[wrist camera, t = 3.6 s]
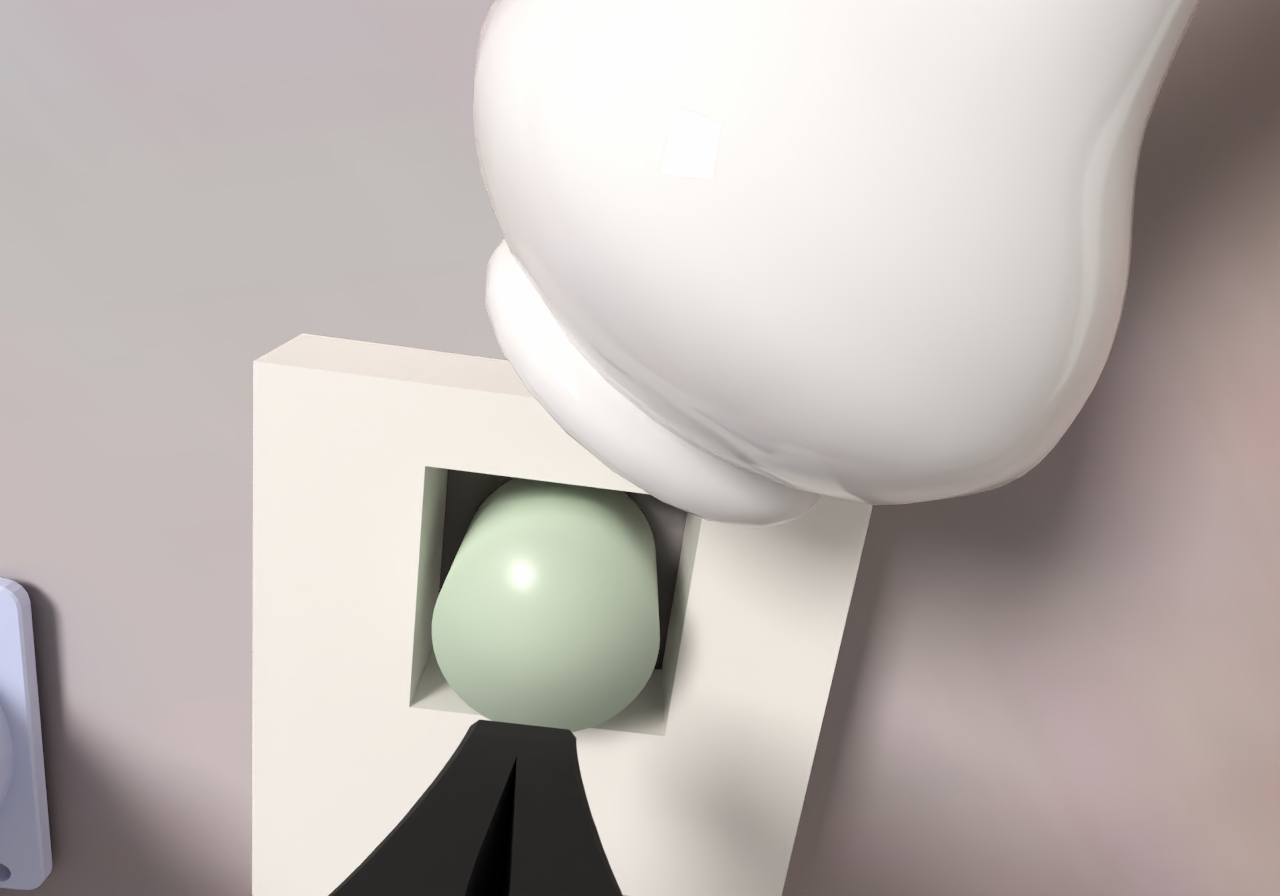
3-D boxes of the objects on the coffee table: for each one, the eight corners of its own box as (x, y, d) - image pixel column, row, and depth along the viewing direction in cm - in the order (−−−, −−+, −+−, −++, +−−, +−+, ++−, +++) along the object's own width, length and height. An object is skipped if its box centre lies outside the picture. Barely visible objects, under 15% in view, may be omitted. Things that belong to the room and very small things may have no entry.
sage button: (457, 631, 20) (424, 721, 16) (472, 456, 18) (439, 519, 15) (642, 653, 20) (643, 745, 17) (669, 481, 18) (675, 548, 15)
